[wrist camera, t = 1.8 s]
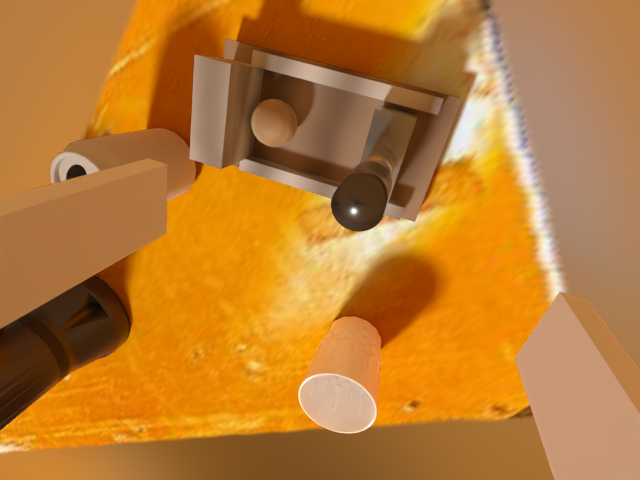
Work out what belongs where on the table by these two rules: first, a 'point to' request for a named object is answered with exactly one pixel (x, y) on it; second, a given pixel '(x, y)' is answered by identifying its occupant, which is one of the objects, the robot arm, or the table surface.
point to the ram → (374, 170)
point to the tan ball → (274, 123)
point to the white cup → (344, 377)
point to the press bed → (311, 121)
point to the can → (128, 157)
